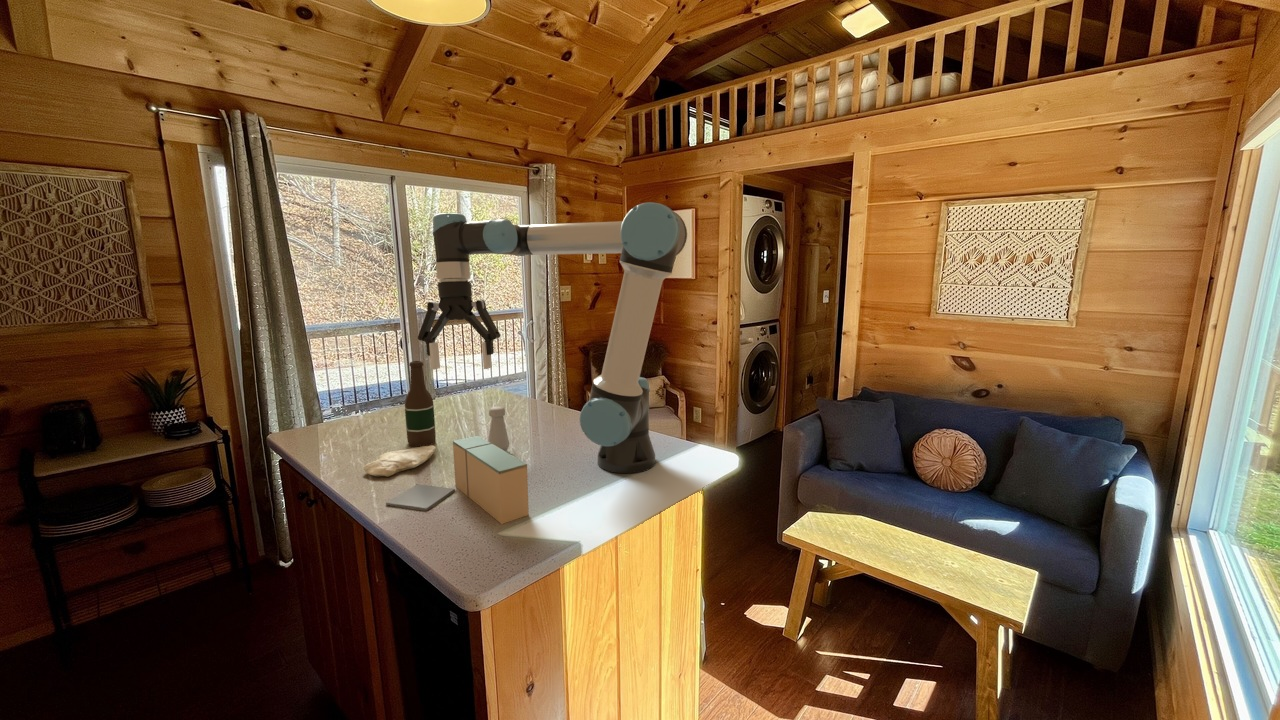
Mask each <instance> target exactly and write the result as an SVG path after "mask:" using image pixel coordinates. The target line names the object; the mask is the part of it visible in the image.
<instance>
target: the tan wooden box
mask: <svg viewBox="0 0 1280 720" xmlns="http://www.w3.org/2000/svg"><path fill="white" fill-rule="evenodd" d="M466 466H467V484H468V496H467V497H468V498H469V499H471V500H472V502H474V503H475V504H477V505H478V506H479V507H480V508H481V509H483V510H484V511H485V512H486V513H487V514H489V515H490V516H491V517H492V518H494V519H495V520H496V521H497V522H498V523H500V524H501V525H504V524H506V523H509V522H512V521H516V520H518V519H520V518H524V517H526V516H529V512H530V511H529V487H528V486H529V483H528V482H529V481H528V463H526V462H524V461H522V460H521V459H520V458H517V457H516V456H514V455H512V454H510V453H509V452H508V451H507V452H505V451H504V450H502V449H500V448H499V447H497V446H495V445H493V444H488V445H484V446H479V447H475V448H471V449H466Z"/></svg>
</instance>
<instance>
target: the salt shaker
mask: <svg viewBox="0 0 1280 720" xmlns="http://www.w3.org/2000/svg"><path fill="white" fill-rule="evenodd" d="M505 415H506V409H505V407H504V406H500V405H497V406H496V405H495V406H491V407H490V408H489V409H488V416H490V418H491V419H490V425H489V433H488V439H487V441H488V442H490V443H491V444H493V445H495V446H497V447H499V448H500V449H502V450H504V451H505V452H507V453H508V449H509V448H510V441H509V435H508V431H507V428H506V423H505V419H504V416H505Z"/></svg>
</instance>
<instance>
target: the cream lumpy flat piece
mask: <svg viewBox="0 0 1280 720" xmlns="http://www.w3.org/2000/svg"><path fill="white" fill-rule="evenodd" d="M436 449H437V448H436V446H435V445H426V446H420V447H417V446H416V447H412V448H406V449H399V450H398V449H397V450H393V451H388V452H385V453H382V454H381V455H379V456H378V459H377V460H374V461H372V462H368V463H366V464H365V465H364V467H363V470H364V472H365V473H367V474H368V475H371V476H373V477H387V478H389V477H391V476H394V475H395V474H397V473H400V472H403V471H406V470H410V469H414V468H417V467H419V466H420V465H422V464H424V463H426V461H428V460H429V459H430V458H431V457H432V455H433V454H434V453H435V451H436Z"/></svg>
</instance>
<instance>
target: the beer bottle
mask: <svg viewBox="0 0 1280 720" xmlns="http://www.w3.org/2000/svg"><path fill="white" fill-rule="evenodd" d="M408 366H409V367H410V371H409V373H410V387H409V391H408V392H407V394H406V395H405V399H404V413H405V414H404V417H405V427H406V439H407V444H408V445H409V444H410V445H409V447H417V446H420V447H422V446H425V445H426V446H431V445H432V444H434V443H435V442H436V438H437V436H436V434H437V433H436V423H435V406H434V399H433V397H432V394H431V393H430V392H429V391H428V389H427V388H426V384H425V377H424V376H425V375H424V368H423V366H424V362H423V361H421V360H414V361H409V365H408Z"/></svg>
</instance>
